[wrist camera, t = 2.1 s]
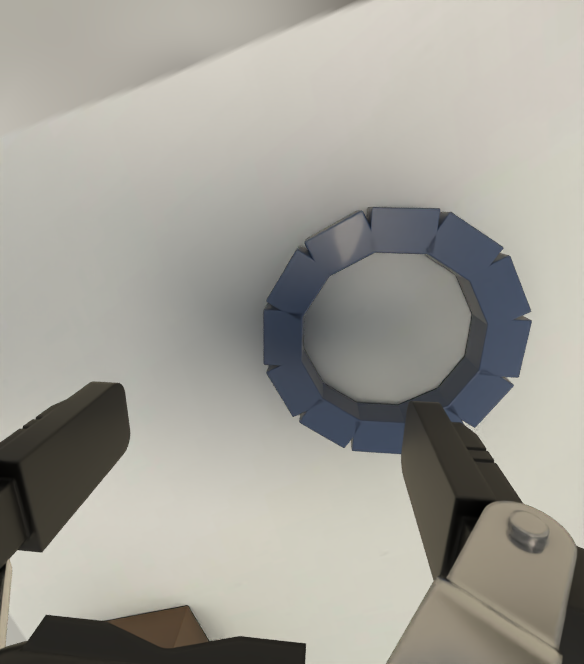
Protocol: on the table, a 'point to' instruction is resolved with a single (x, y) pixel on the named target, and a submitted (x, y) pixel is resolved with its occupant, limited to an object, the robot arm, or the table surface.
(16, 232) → the table surface
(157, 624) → the stand
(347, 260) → the ring
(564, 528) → the robot arm
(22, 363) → the table surface
